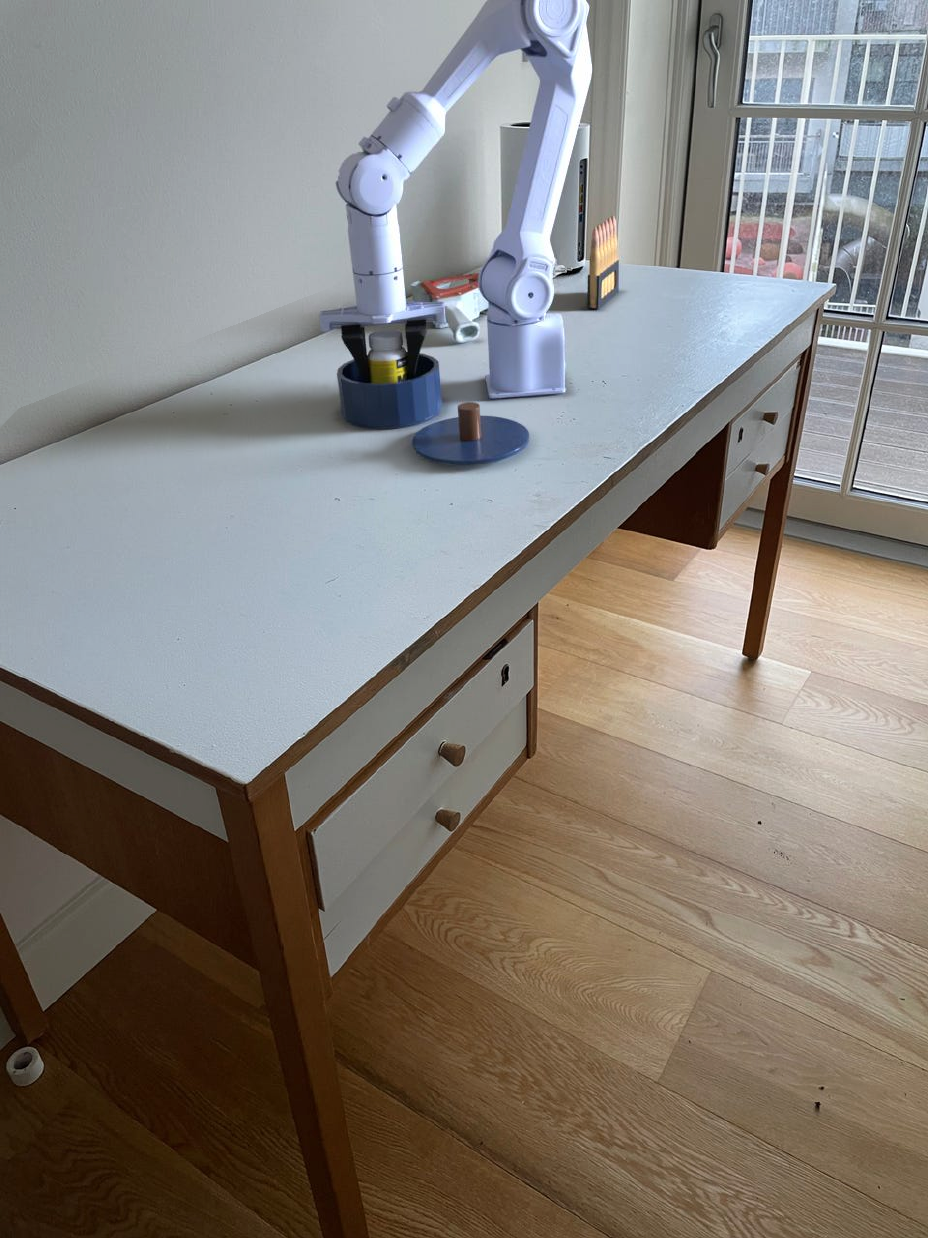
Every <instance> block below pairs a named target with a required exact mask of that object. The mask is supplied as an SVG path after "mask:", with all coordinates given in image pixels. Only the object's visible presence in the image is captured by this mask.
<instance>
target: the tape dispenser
mask: <svg viewBox="0 0 928 1238" xmlns="http://www.w3.org/2000/svg"><path fill="white" fill-rule="evenodd" d="M478 277H479V272H477V273H476V272H475V273H474V272H473V273H469V274H461V275H453V276H447V277H442V278H436V279H430V280H425V281H420V280H417V281H413V282H412V283H410V287H411V294H412V302H444V307H445V321H446V322H445V323H436V322H432V323H433V324H434V327H435V328H436V329H443V328H449V330H450V331H451V332H452V334H453V338H454V341H455V342H456V343H458V344H462V343H467V342H471V341H474V340H476V339H478V337H479V336H480V333H481V327H480V325H479V323H478V322H477V321H476V322H475V321H473V320H475V319H477V318H479V317H480V314H486V315H487V311H488V307H489V305H488V301H487V300H486V299H485V298H484V297H483V296H482V294H481V292H480V290H479V285H478ZM462 280H468V283H465V284H461V285H457V286H453V287H450V284H451V283H452V282H455V281H462Z"/></svg>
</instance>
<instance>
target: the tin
mask: <svg viewBox="0 0 928 1238" xmlns="http://www.w3.org/2000/svg"><path fill="white" fill-rule="evenodd" d="M367 358H368V354H367ZM407 361H408V353H407ZM336 377H337V386H338V392H339V401H340V407H341V414H342V417H343V419H344V421H345V422H346V423H348V424H349V425H352V426H354V427H358V428H363V429H369V430H395V429H396V430H397V429H403V428H410V427H412V426H413V427H414V426H418V425H420V424H423V423H426V422H428V421H430V420H432V419H434V418H436V417H437V416H439V415H440V414H441V412H442V410H443V400H442V398H443V397H442V388H441V387H442V386H441V373H440V361H438V359H436V358H435V357H434V356H431V355H429V354H426V353H421V352H420V353H419V357H418V361H417V366H416V372H415V378H414V379H410V380H406V381H400V382H395V383H382V384H374V383H364V382H363V379H362V376H361V373H360V371H359V368H358V366H357V364H356V362H355V360H354V358H353V359H351V360H349V361H347V362H344V363H343V364H342V365H340V366H339V367H338V368H337V372H336Z"/></svg>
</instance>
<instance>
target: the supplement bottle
mask: <svg viewBox="0 0 928 1238" xmlns="http://www.w3.org/2000/svg"><path fill="white" fill-rule="evenodd" d="M403 346H404V338H403V333H402V331H401V330H397V329H381V330H375V331H373V332H370V333H369V334H368V347H369V349H370V350H369V351H368V352H367V355H368V365H369V374H370V381H371V383H374V384H382V383H395V382H400V381H406V380H409V379H408V361H407V349H406V348H404V347H403Z"/></svg>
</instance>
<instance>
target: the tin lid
mask: <svg viewBox="0 0 928 1238" xmlns="http://www.w3.org/2000/svg"><path fill="white" fill-rule="evenodd" d="M480 407H481V405H480V404H479V403H477V402H474V401H472V402H471V401H468V402H467V401H466V402H463V403H460V404H458V405H457V416H455V417H449V418H445V419H442V420H438V421H435V422H433V423H432V422H431V423H430V424H427V425H426V426H424V427H422V428H420V430H418V431H417V432H416V433H414V436H413V438H412V441H411V443H412V444H411V445H412V448H413V451H414V452H415V453H416V454H417V455H418V456H419V457H421V458H422V459H425V460H427V461H431V462H434V463H438V464H443V465H451V466H452V465H453V466H472V465H482V464H483V465H484V464H489V463H494V462H498V461H502V460H505V459H508V458H510V457H513V456H515V455H517V454H518V453H521V452H522V451H523V450H524V449H525V448H526V447H527V446H528V444H529V442H530V432H529V430H528V428H527V427H526V426H525V425H523V424H522V423H520V422H518V421H515V420H513V419H510V418H507V417H500V416H495V415H494V416H493V415H481V408H480Z"/></svg>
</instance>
